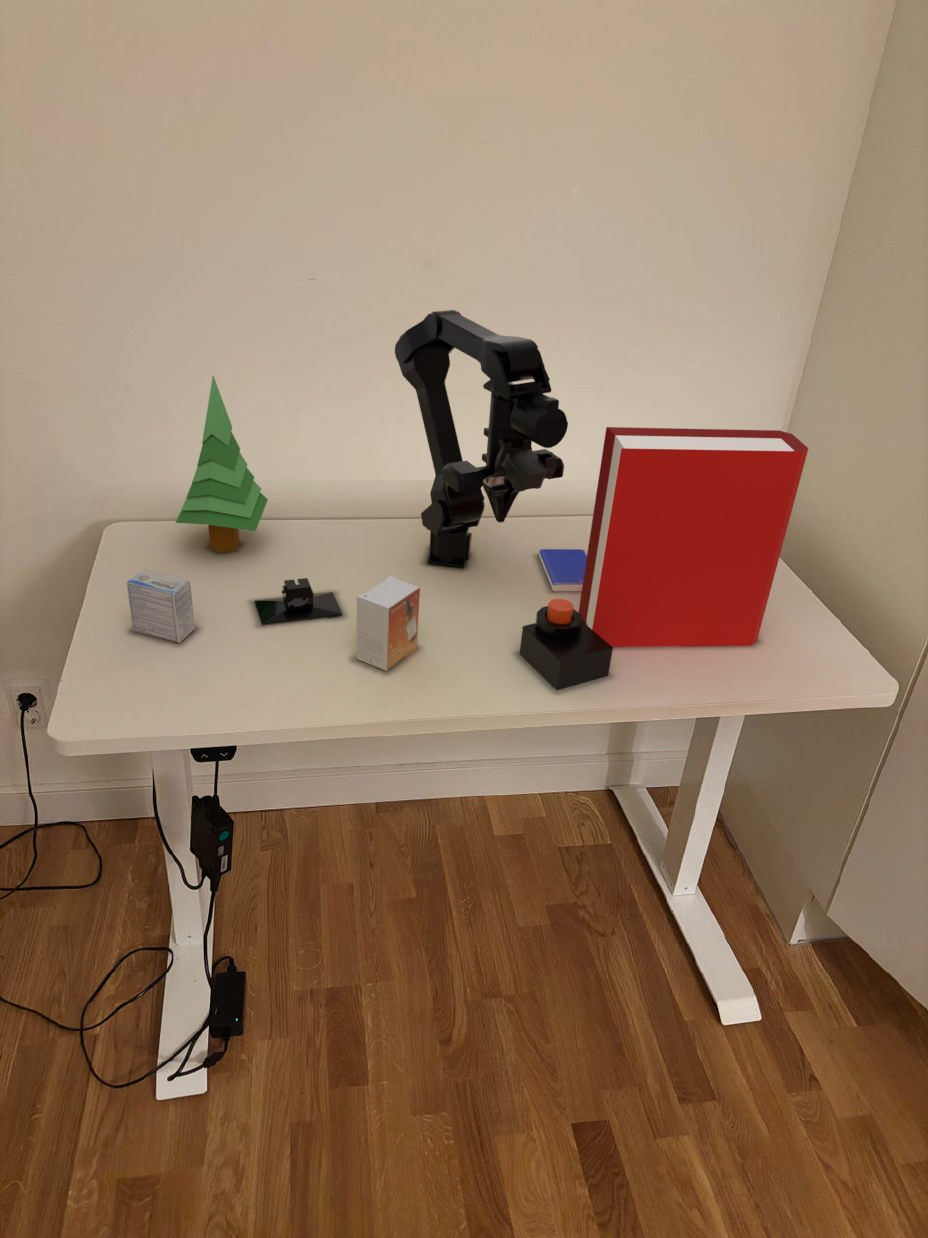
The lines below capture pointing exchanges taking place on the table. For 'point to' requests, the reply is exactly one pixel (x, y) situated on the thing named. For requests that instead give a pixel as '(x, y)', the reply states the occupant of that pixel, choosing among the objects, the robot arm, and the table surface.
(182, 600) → the medicine box
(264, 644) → the table surface
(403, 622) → the small box
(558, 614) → the button
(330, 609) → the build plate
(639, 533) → the book
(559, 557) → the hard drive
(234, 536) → the decorative tree
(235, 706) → the table surface
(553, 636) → the button base
